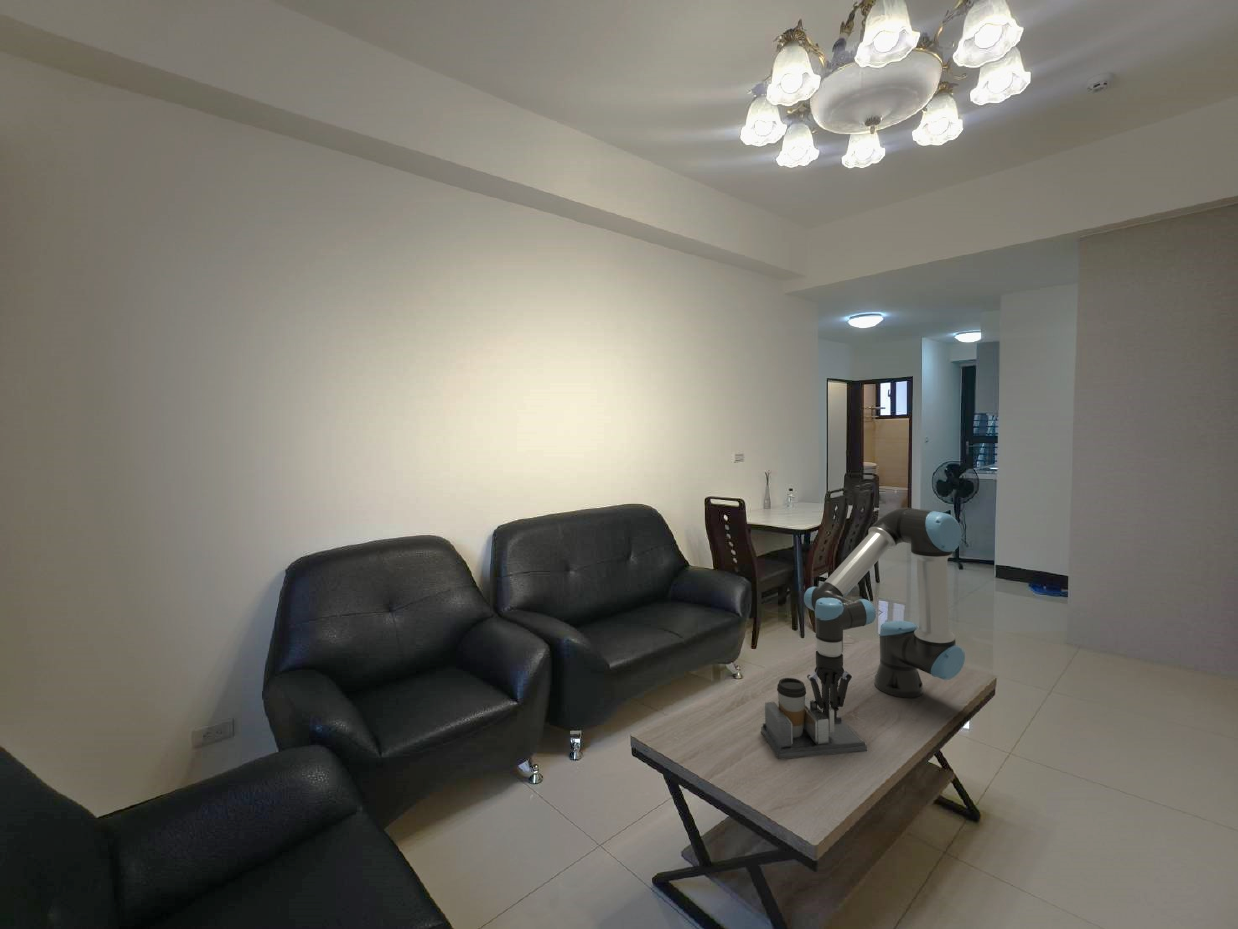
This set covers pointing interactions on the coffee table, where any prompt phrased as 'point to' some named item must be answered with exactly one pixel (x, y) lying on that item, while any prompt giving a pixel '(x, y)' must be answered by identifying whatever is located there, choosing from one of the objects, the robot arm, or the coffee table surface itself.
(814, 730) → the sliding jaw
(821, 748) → the base
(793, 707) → the coffee cup
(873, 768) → the coffee table surface
